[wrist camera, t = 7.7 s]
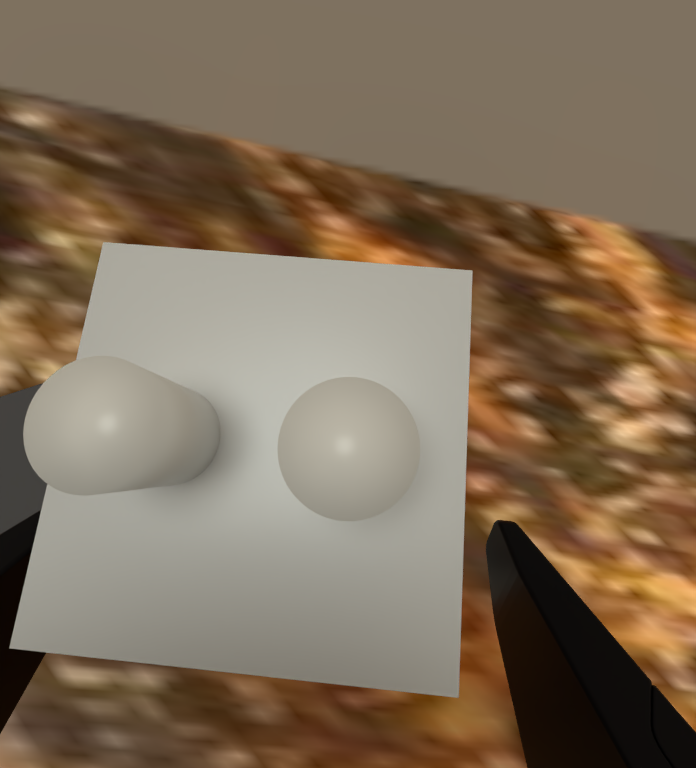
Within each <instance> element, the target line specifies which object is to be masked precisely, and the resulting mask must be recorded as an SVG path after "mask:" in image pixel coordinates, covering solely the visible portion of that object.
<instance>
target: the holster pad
mask: <svg viewBox="0 0 696 768" xmlns="http://www.w3.org/2000/svg"><path fill="white" fill-rule="evenodd" d="M42 384H43V383H42ZM42 384H39V385H36V386H33V387H30V388H27V389H24V390H21V391H18V392H15V393H11V394H8V395H5V396H2V397H0V534H2V533H3V532H5V531H7V530H8V529H10V528H11V527H13V526H15V525H16V524H18V523H20V522H21V521H23V520H25V519H26V518H28V517H30V516H31V515H33V514H35V513H36V512H38V511H40V510H41V509H42V505H43V500H44V496H45V492H46V487H47V483H45V482H44V481H43V480H42V479H41V478H40V477H39V476H38V475H37V473H36V472H35V471H34V469H33V468H32V466H31V464H30V462H29V460H28V458H27V455H26V452H25V447H24V439H23V430H24V422H25V417H26V414H27V410H28V408H29V405H30V403H31V401H32V399H33V397H34V396H35V394H36V392H37V391H38V389H39V388H40V387H41V386H42Z"/></svg>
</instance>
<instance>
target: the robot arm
mask: <svg viewBox="0 0 696 768" xmlns="http://www.w3.org/2000/svg"><path fill="white" fill-rule="evenodd" d="M40 513H41V510H40V511H38V512H36V513H35V514H33V515H31V516H30V517H28V518H26V519H25V520H23V521H21V522H20V523H18V524H16V525H15V526H13V527H11V528H10V529H8V530H7V531H5V532H3V533H2V534H0V733H1V732H2V730H3V728H4V726H5V725H6V723H7V721H8V719H9V717H10V716H11V714H12V712H13V710H14V709H15V707H16V705H17V703H18V702H19V700H20V698H21V696H22V694H23V693H24V691H25V689H26V687H27V686H28V684H29V682H30V680H31V679H32V677H33V675H34V673H35V671H36V670H37V668H38V666H39V664H40V663H41V661H42V659H43V657H44V656H45V654H46V652H38V651H29V650H20V649H11V648H9V647H10V643H11V638H12V634H13V630H14V625H15V621H16V617H17V612H18V608H19V604H20V599H21V595H22V591H23V587H24V582H25V578H26V574H27V569H28V565H29V561H30V556H31V552H32V548H33V543H34V539H35V535H36V531H37V526H38V522H39V518H40ZM486 555H487V564H488V572H489V581H490V589H491V598H492V606H493V614H494V621H495V626H496V631H497V636H498V640H499V644H500V649H501V653H502V658H503V662H504V667H505V671H506V675H507V680H508V684H509V689H510V693H511V697H512V702H513V706H514V711H515V715H516V719H517V724H518V728H519V733H520V737H521V742H522V746H523V750H524V755H525V759H526V764H527V768H696V732H695V731H694V730H693V729H692V727H691V726H690V725H689V724H688V723H687V722H686V721H685V719H684V718H683V717H682V716H681V715H680V714H679V713H678V712H677V710H676V709H675V708H674V707H673V706H672V705H671V703H670V702H669V701H668V700H667V699H666V698H665V696H664V695H663V694H662V693H661V692H660V691H659V689H658V688H657V687H656V686H654V685H652V683H651V680H650V679H649V678H648V677H647V676H646V674H645V673H644V672H643V671H642V670H641V669H640V667H639V666H638V665H637V664H636V663H635V662H634V660H633V659H632V658H631V657H630V656H629V655H628V653H627V652H626V651H625V650H624V649H623V647H622V646H621V645H620V644H619V643H618V642H617V640H616V639H615V638H614V637H613V636H612V635H611V633H610V632H609V631H608V630H607V629H606V628H605V626H604V625H603V624H602V623H601V622H600V621H599V619H598V618H597V617H596V616H595V615H594V614H593V612H592V611H591V610H590V609H589V608H588V607H587V605H586V604H585V603H584V602H583V601H582V599H581V598H580V597H579V596H578V595H577V594H576V592H575V591H574V590H573V589H572V588H571V587H570V585H569V584H568V583H567V582H566V581H565V580H564V578H563V577H562V576H561V575H560V574H559V573H558V571H557V570H556V569H555V568H554V567H553V566H552V564H551V563H550V562H549V561H548V560H547V559H546V557H545V556H544V555H543V554H542V553H541V551H540V550H539V549H538V548H537V547H536V546H535V544H534V543H533V542H532V541H531V540H530V539H529V537H528V536H527V535H526V534H525V533H524V532H523V530H522V529H521V528H520V527H519V526H518V525H517V524H516V523H515V522H512V521H503V520H497V521H496V522H495V523H494V525H493V528H492V530H491V533H490V535H489V538H488V540H487V544H486Z"/></svg>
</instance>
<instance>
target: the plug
mask: <svg viewBox="0 0 696 768" xmlns="http://www.w3.org/2000/svg"><path fill="white" fill-rule="evenodd" d="M471 299H472V271H471V270H458V269H445V268H432V267H419V266H405V265H392V264H379V263H366V262H353V261H340V260H327V259H314V258H301V257H288V256H275V255H262V254H249V253H236V252H223V251H210V250H197V249H184V248H171V247H158V246H145V245H132V244H119V243H106V242H103V246H102V251H101V255H100V259H99V263H98V268H97V272H96V276H95V281H94V285H93V289H92V294H91V298H90V302H89V307H88V311H87V315H86V319H85V324H84V328H83V332H82V337H81V341H80V345H79V350H78V354H77V358H76V361H74V362H71V363H69V364H67V365H65V366H64V367H62V368H61V369H59V370H58V371H56V372H55V373H54V374H53V375H51V376H50V377H49V378H48V379H47V380H46V381H45V382H44V383H43V384H42V386H41V387H40V388H39V389H38V391H37V392H36V394H35V396H34V397H33V399H32V401H31V403H30V405H29V408H28V410H27V414H26V417H25V422H24V430H23V439H24V447H25V452H26V455H27V458H28V460H29V462H30V464H31V466H32V468H33V469H34V471H35V472H36V473H37V475H38V476H39V477H40V478H41V479H42V480H43V481H44V482H45V483H47V487H46V492H45V496H44V500H43V505H42V509H41V513H40V518H39V522H38V526H37V531H36V535H35V539H34V543H33V548H32V552H31V556H30V561H29V565H28V569H27V574H26V578H25V582H24V587H23V591H22V595H21V599H20V604H19V608H18V612H17V617H16V621H15V625H14V630H13V634H12V638H11V643H10V647H9V648H11V649H20V650H29V651H38V652H47V653H56V654H65V655H74V656H83V657H92V658H101V659H111V660H120V661H129V662H138V663H147V664H156V665H165V666H174V667H183V668H192V669H201V670H210V671H219V672H229V673H238V674H247V675H256V676H265V677H274V678H283V679H292V680H301V681H310V682H319V683H328V684H338V685H347V686H356V687H365V688H374V689H383V690H392V691H401V692H410V693H419V694H428V695H437V696H446V697H456V698H459V675H460V643H461V612H462V581H463V549H464V518H465V487H466V455H467V424H468V393H469V361H470V330H471Z"/></svg>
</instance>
